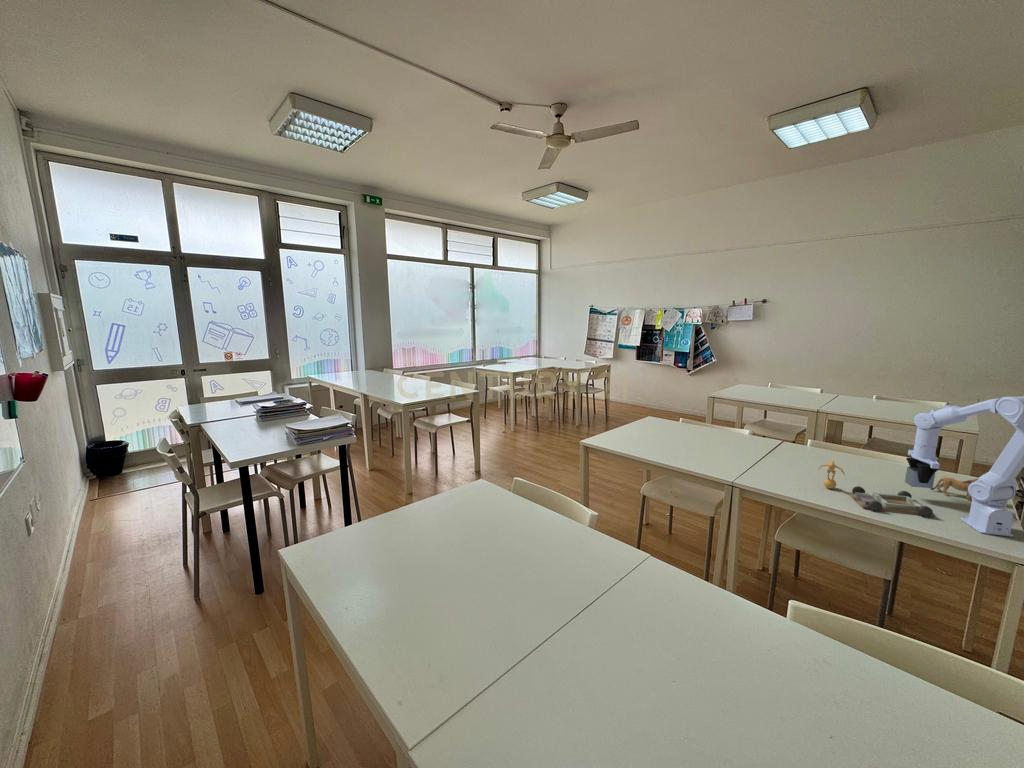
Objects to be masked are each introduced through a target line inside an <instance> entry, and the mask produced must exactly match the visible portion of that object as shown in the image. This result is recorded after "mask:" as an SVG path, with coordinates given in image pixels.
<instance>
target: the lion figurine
mask: <svg viewBox="0 0 1024 768" xmlns="http://www.w3.org/2000/svg"><path fill="white" fill-rule="evenodd" d="M978 478H979V477H978ZM978 478H975V479H968V480H963V481H962V480H959V479H956V478H953V477H950V476H944V477H941V478H940V479H939V480H938V481H937V483H936V484H935V486H933V489H932V488H929V490H931V491H934V490H936V491H937V492H943V494H944V496H947V497H949V496H950V493H947V490H949V488H950V487H952V488H953V489H954V490H957V491H959V492H966V495H965V497H966V499H967V501H968V502H971V503H972V497H971V495H970V494H969V492H968V487H969V485H970V484H971V483H973V482H975V481H977V480H978ZM941 488H943V489H941Z"/></svg>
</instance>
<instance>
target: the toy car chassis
mask: <svg viewBox="0 0 1024 768" xmlns="http://www.w3.org/2000/svg"><path fill="white" fill-rule="evenodd" d="M848 496H849V497H850V498H851V499H853V500H854V502H855V503H857V505H858V506H860V507H861V508H862V509H863V510H871V511H872V512H880V511H881V512H889V513H896V514H905V515H906V514H907V515H915V516H920V517H923V518H930V517H935V515H936V513H934V510H933V509H932V508H931V507H929V506H928V505H923V504H922V503H920V502H919V501H918V500H916V499H912V494H911V493H910V492H909V491H906V490H900V491H898V493H897V494H890V493H882V492H881V493H880V492H872V495H871V494H869V493H867V492H866V490H865V488H863V487H862V486H858V485H857V486H854V487H853V488H852V492H851V493H850V492H849V495H848Z"/></svg>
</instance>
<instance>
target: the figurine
mask: <svg viewBox="0 0 1024 768" xmlns="http://www.w3.org/2000/svg"><path fill="white" fill-rule="evenodd" d="M826 466H827V467H828V468H827V469H826V476H827V478H826V479H824V480H823V485H824V487H826V488H827V489H834V488H836V487H837V482H836V480H835V479H834V478H835V475H836V472H837V471H836V470H835V469H836V468H837V469H839V470H840V472H842V474H843V475H844V476H845V471H843V468H841V467H840V466H838V465H837V464H835V462H834V460H831V461H830V462H828V463H824V464H821V465H820V466H819V467H818V468H817V469H818V470H820V469H821V468H822V467H826ZM830 474H832V475H831V478H830Z"/></svg>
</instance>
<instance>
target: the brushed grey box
mask: <svg viewBox="0 0 1024 768" xmlns="http://www.w3.org/2000/svg"><path fill="white" fill-rule="evenodd" d="M935 476H936V472H935V473H934V474H933V476H932V477H931V479H930V480H929V482H928V484H927V483H920V481H919V469H918V468H917V467H910V466H907V467H906V472H905V477H904V478H905V480H904V482H905V483H906V484H908V486H910V487H911V488H923V489H924V488H925V489H931V488H932V489H933V488H934V484H935V483H934V482H935Z"/></svg>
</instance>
